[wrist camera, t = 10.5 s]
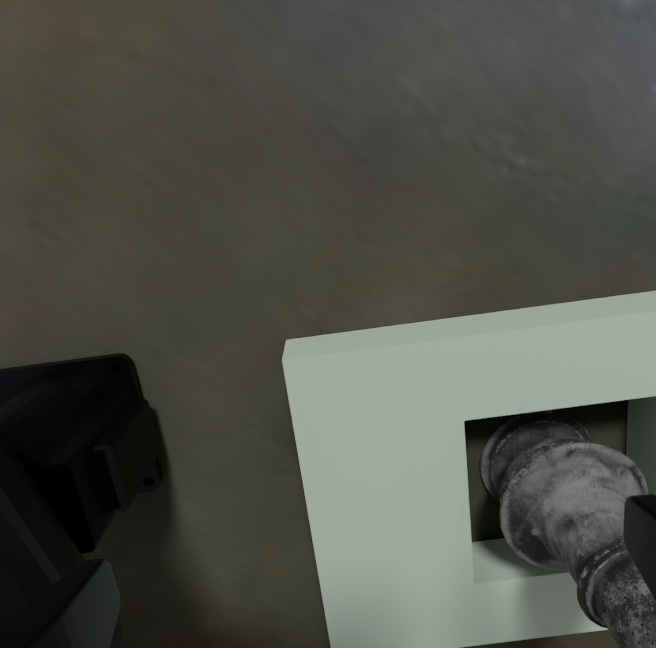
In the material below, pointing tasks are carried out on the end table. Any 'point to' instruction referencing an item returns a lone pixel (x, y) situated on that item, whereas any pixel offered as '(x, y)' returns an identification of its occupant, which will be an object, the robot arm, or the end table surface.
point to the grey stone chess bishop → (572, 515)
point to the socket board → (449, 462)
